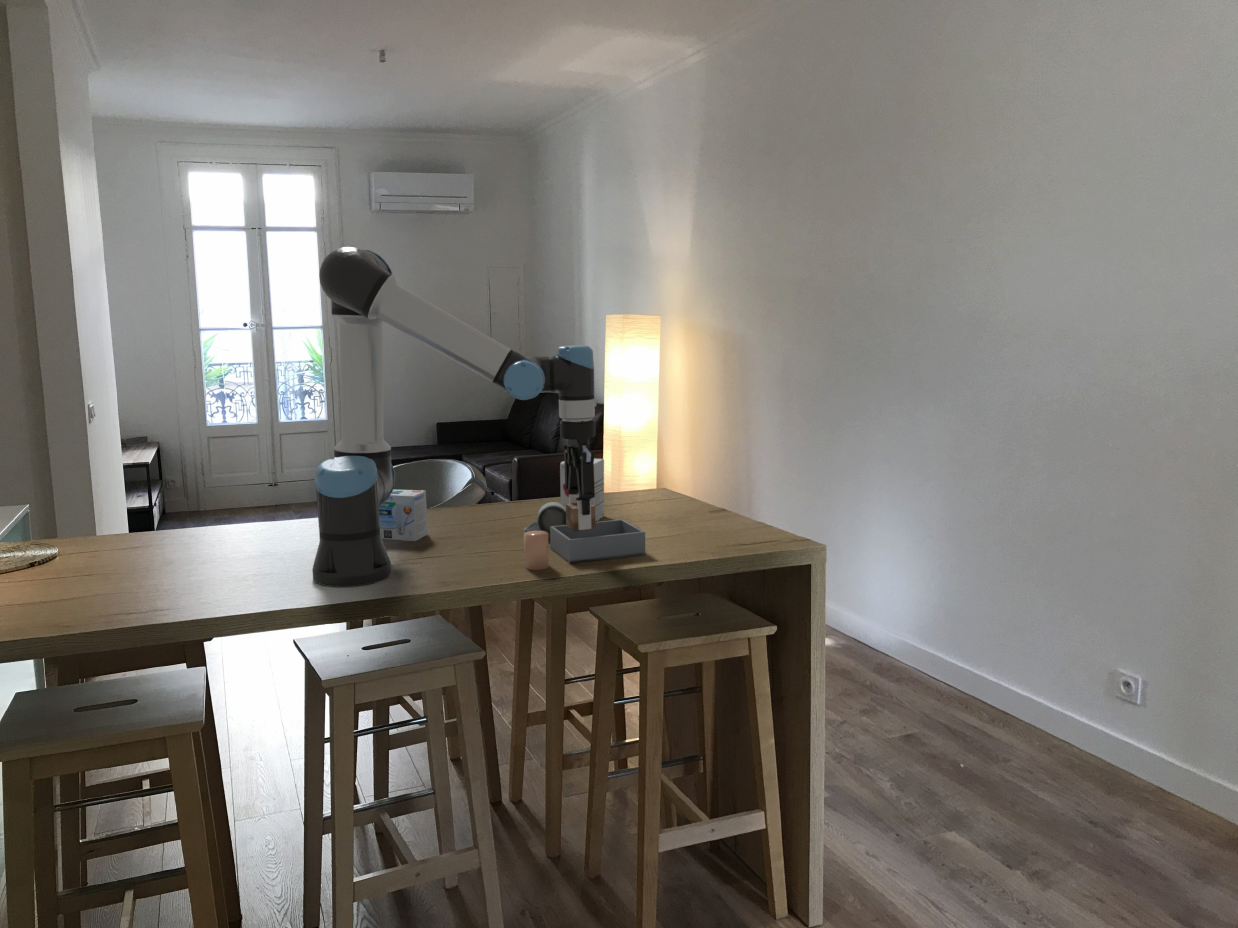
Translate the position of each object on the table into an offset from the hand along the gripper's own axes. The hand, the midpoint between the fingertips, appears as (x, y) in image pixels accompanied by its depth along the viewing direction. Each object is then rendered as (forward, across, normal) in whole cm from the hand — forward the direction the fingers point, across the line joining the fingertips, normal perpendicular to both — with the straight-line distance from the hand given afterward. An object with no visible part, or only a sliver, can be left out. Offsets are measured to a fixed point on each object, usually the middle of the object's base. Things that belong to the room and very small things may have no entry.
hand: (580, 526), depth 201 cm
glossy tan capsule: (+6, -6, +12) cm, 15 cm away
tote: (+6, 0, -4) cm, 7 cm away
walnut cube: (0, 0, 0) cm, 0 cm away
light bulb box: (+6, +31, +34) cm, 46 cm away
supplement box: (+6, +31, -11) cm, 34 cm away
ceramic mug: (+6, +20, +2) cm, 21 cm away
